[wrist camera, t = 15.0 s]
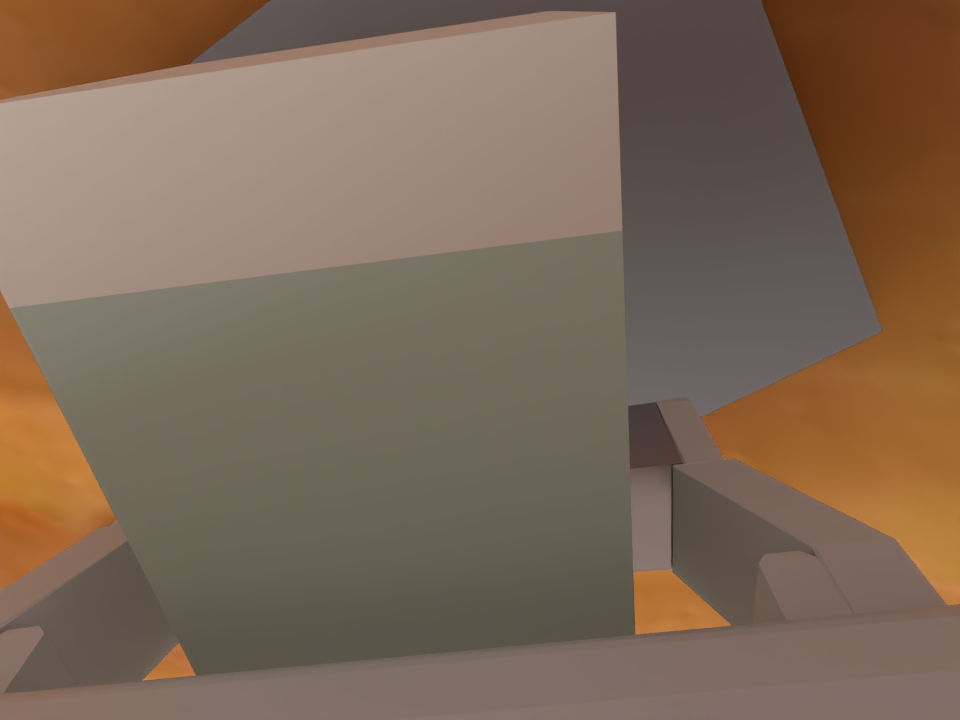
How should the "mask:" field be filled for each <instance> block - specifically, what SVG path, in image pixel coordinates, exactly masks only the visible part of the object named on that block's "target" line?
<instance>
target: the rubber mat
mask: <svg viewBox="0 0 960 720" xmlns="http://www.w3.org/2000/svg"><path fill="white" fill-rule="evenodd" d="M545 11H579V12H616V42H617V74H618V105H619V137H620V169H621V200H622V232H623V264H624V296H625V327H626V359H627V391H628V406H631V405H638V404H645V403H653V402H657V401H664V400H671V399H677V398H684V397H687V398H689V399H691V401H692V403H693V404H694V406H695V408H696V410H697V412H698V413H699V415H700V417H703V416H705V415H707V414H709V413H712V412H714V411H716V410H718V409H720V408H722V407H724V406H726V405H728V404H731V403H733V402H735V401H737V400H739V399H741V398H743V397H745V396H747V395H750V394H752V393H754V392H756V391H758V390H760V389H762V388H764V387H766V386H769V385H771V384H773V383H775V382H777V381H779V380H781V379H783V378H785V377H788V376H790V375H792V374H794V373H796V372H798V371H800V370H802V369H804V368H807V367H809V366H811V365H813V364H815V363H817V362H819V361H821V360H823V359H826V358H828V357H830V356H832V355H834V354H836V353H838V352H840V351H842V350H845V349H847V348H849V347H851V346H853V345H855V344H857V343H859V342H861V341H864V340H866V339H868V338H870V337H872V336H874V335H876V334H878V333H880V332H883V331H882V328H881V325H880V323H879V320H878V317H877V315H876V312H875V309H874V306H873V304H872V301H871V298H870V295H869V293H868V290H867V287H866V285H865V282H864V279H863V276H862V274H861V271H860V268H859V265H858V263H857V260H856V257H855V255H854V252H853V249H852V246H851V244H850V241H849V238H848V235H847V233H846V230H845V227H844V225H843V222H842V219H841V216H840V214H839V211H838V208H837V205H836V203H835V200H834V197H833V195H832V192H831V189H830V186H829V184H828V181H827V178H826V175H825V173H824V170H823V167H822V164H821V162H820V159H819V156H818V154H817V151H816V148H815V145H814V143H813V140H812V137H811V134H810V132H809V129H808V126H807V124H806V121H805V118H804V115H803V113H802V110H801V107H800V104H799V102H798V99H797V96H796V94H795V91H794V88H793V85H792V83H791V80H790V77H789V74H788V72H787V69H786V66H785V64H784V61H783V58H782V55H781V53H780V50H779V47H778V44H777V42H776V39H775V36H774V34H773V31H772V28H771V25H770V23H769V20H768V17H767V14H766V12H765V9H764V6H763V4H762V1H761V0H270V1H269V2H268V3H266V4H265V5H264V6H262V7H261V8H260V9H259V10H257V11H256V12H255V13H253V14H252V15H251V16H250V17H248V18H247V19H246V20H244V21H243V22H242V23H241V24H239V25H238V26H237V27H236V28H234V29H233V30H232V31H230V32H229V33H228V34H227V35H225V36H224V37H223V38H221V39H220V40H219V41H218V42H216V43H215V44H214V45H212V46H211V47H210V48H209V49H207V50H206V51H205V52H204V53H202V54H201V55H200V56H198V57H197V58H196V59H195V60H193V61H192V62H191V63H189V64H196V63H203V62H209V61H216V60H223V59H230V58H236V57H243V56H250V55H256V54H263V53H270V52H277V51H283V50H290V49H297V48H303V47H310V46H317V45H323V44H330V43H337V42H344V41H350V40H357V39H364V38H370V37H377V36H384V35H391V34H397V33H404V32H411V31H417V30H424V29H431V28H438V27H444V26H451V25H458V24H464V23H471V22H478V21H485V20H491V19H498V18H505V17H511V16H518V15H525V14H532V13H538V12H545ZM189 64H188V65H189Z"/></svg>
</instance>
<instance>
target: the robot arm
mask: <svg viewBox="0 0 960 720" xmlns="http://www.w3.org/2000/svg"><path fill="white" fill-rule="evenodd" d="M628 422H629V454H630V486H631V518H632V549H633V572H640V571H654V570H667V569H672V572H673V573H674V574H675V575H677V576H678V577H679V578H680V579H681V580H682V581H683V582H684V583H685V584H687V585H688V586H689V587H690V588H691V589H692V590H693V591H694V592H695V593H697V594H698V595H699V596H700V597H701V598H702V599H703V600H704V601H705V602H707V603H708V604H709V605H710V606H711V607H712V608H713V609H714V610H715V611H717V612H718V613H719V614H720V615H721V616H722V617H723V618H724V619H726V620H727V621H728V622H729V623H730V624H731V625H732V626H725V627H714V628H703V629H692V630H681V631H670V632H660V633H649V634H638V635H627V636H616V637H606V638H595V639H584V640H573V641H562V642H551V643H541V644H530V645H519V646H508V647H497V648H486V649H476V650H465V651H454V652H443V653H433V654H422V655H412V656H401V657H391V658H380V659H370V660H359V661H349V662H338V663H328V664H317V665H307V666H296V667H285V668H275V669H264V670H253V671H242V672H232V673H221V674H210V675H199V676H188V677H178V678H167V679H156V680H145V681H142V680H143V679H144V678H145V677H146V676H147V675H148V674H149V673H150V672H151V671H152V670H153V669H154V668H155V667H156V666H157V665H158V664H159V663H160V662H161V660H162V659H163V658H164V657H165V656H166V655H167V654H168V653H169V652H170V651H171V650H172V649H173V648H174V647H175V646H176V645H177V644H178V643H179V640H178V638H177V636H176V635H175V633H174V631H173V629H172V627H171V625H170V623H169V621H168V619H167V617H166V615H165V613H164V611H163V609H162V607H161V605H160V603H159V601H158V599H157V597H156V595H155V593H154V591H153V589H152V587H151V585H150V584H149V582H148V580H147V578H146V576H145V574H144V572H143V570H142V568H141V566H140V564H139V562H138V560H137V558H136V556H135V554H134V552H133V550H132V548H131V546H130V544H129V542H128V540H127V538H126V536H125V534H124V532H123V531H122V529H121V527H120V525H119V523H118V521H117V519H116V520H115V521H114V523H113V524H112V525H111V526H107V527H100V528H99V529H97V530H96V531H94V532H93V533H91V534H89V535H88V536H86V537H85V538H83V539H81V540H80V541H78V542H77V543H75V544H73V545H72V546H70V547H69V548H67V549H66V550H64V551H62V552H61V553H59V554H58V555H56V556H54V557H53V558H51V559H50V560H48V561H46V562H45V563H43V564H42V565H40V566H38V567H37V568H35V569H34V570H32V571H31V572H29V573H27V574H26V575H24V576H23V577H21V578H19V579H18V580H16V581H15V582H13V583H11V584H10V585H8V586H7V587H5V588H4V589H2V590H0V720H960V604H958V605H947V604H946V603H945V602H944V600H943V599H942V598H941V597H940V595H939V594H938V593H937V592H936V590H935V589H934V588H933V587H932V585H931V584H930V583H929V581H928V580H927V579H926V578H925V576H924V575H923V574H922V573H921V571H920V570H919V569H918V567H917V566H916V565H915V564H914V562H913V561H912V560H911V559H910V557H909V556H908V555H907V554H906V552H905V551H904V550H903V548H902V547H901V546H900V545H899V543H898V542H897V541H896V540H895V539H894V538H892V537H890V536H888V535H886V534H884V533H882V532H880V531H878V530H876V529H874V528H872V527H870V526H868V525H866V524H864V523H862V522H860V521H858V520H856V519H854V518H852V517H850V516H848V515H846V514H844V513H842V512H840V511H838V510H836V509H834V508H832V507H830V506H828V505H826V504H824V503H822V502H820V501H818V500H816V499H814V498H812V497H810V496H808V495H806V494H804V493H802V492H800V491H798V490H796V489H794V488H792V487H790V486H788V485H786V484H784V483H782V482H780V481H778V480H776V479H774V478H772V477H770V476H768V475H766V474H764V473H762V472H760V471H758V470H756V469H754V468H752V467H750V466H748V465H746V464H744V463H742V462H740V461H738V460H736V459H726V460H724V458H723V456H722V454H721V453H720V451H719V449H718V447H717V445H716V444H715V442H714V440H713V438H712V437H711V435H710V433H709V431H708V429H707V428H706V426H705V424H704V422H703V420H702V419H701V417H700V415H699V413H698V412H697V410H696V408H695V406H694V404H693V403H692V401H691V399H689V398H687V397H684V398H677V399H671V400H664V401H657V402H653V403H645V404H638V405H631V406H628Z"/></svg>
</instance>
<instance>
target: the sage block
mask: <svg viewBox="0 0 960 720" xmlns="http://www.w3.org/2000/svg"><path fill="white" fill-rule="evenodd" d="M0 291H1V293H2V295H3V297H4V299H5V301H6V303H7V305H8V307H9V309H10V311H11V313H12V315H13V317H14V319H15V321H16V323H17V324H18V326H19V328H20V330H21V332H22V334H23V336H24V338H25V340H26V342H27V344H28V346H29V348H30V350H31V352H32V354H33V356H34V358H35V360H36V362H37V364H38V366H39V368H40V370H41V372H42V374H43V376H44V377H45V379H46V381H47V383H48V385H49V387H50V389H51V391H52V393H53V395H54V397H55V399H56V401H57V403H58V405H59V407H60V409H61V411H62V413H63V415H64V417H65V419H66V421H67V423H68V425H69V427H70V428H71V430H72V432H73V434H74V436H75V438H76V440H77V442H78V444H79V446H80V448H81V450H82V452H83V454H84V456H85V458H86V460H87V462H88V464H89V466H90V468H91V470H92V472H93V474H94V476H95V478H96V480H97V481H98V483H99V485H100V487H101V489H102V491H103V493H104V495H105V497H106V499H107V501H108V503H109V505H110V507H111V509H112V511H113V513H114V515H115V517H116V519H117V521H118V523H119V525H120V527H121V529H122V531H123V532H124V534H125V536H126V538H127V540H128V542H129V544H130V546H131V548H132V550H133V552H134V554H135V556H136V558H137V560H138V562H139V564H140V566H141V568H142V570H143V572H144V574H145V576H146V578H147V580H148V582H149V584H150V585H151V587H152V589H153V591H154V593H155V595H156V597H157V599H158V601H159V603H160V605H161V607H162V609H163V611H164V613H165V615H166V617H167V619H168V621H169V623H170V625H171V627H172V629H173V631H174V633H175V635H176V636H177V638H178V640H179V642H180V644H181V646H182V648H183V650H184V652H185V654H186V656H187V658H188V660H189V662H190V664H191V666H192V668H193V670H194V672H195V674H196V676H199V675H210V674H221V673H232V672H242V671H253V670H264V669H275V668H285V667H296V666H307V665H317V664H328V663H338V662H349V661H359V660H370V659H380V658H391V657H401V656H412V655H422V654H433V653H443V652H454V651H465V650H476V649H486V648H497V647H508V646H519V645H530V644H541V643H551V642H562V641H573V640H584V639H595V638H606V637H616V636H627V635H635V613H634V581H633V549H632V518H631V486H630V454H629V422H628V391H627V359H626V327H625V296H624V264H623V232H622V200H621V169H620V137H619V105H618V74H617V42H616V12H579V11H545V12H538V13H532V14H525V15H518V16H511V17H505V18H498V19H491V20H485V21H478V22H471V23H464V24H458V25H451V26H444V27H438V28H431V29H424V30H417V31H411V32H404V33H397V34H391V35H384V36H377V37H370V38H364V39H357V40H350V41H344V42H337V43H330V44H323V45H317V46H310V47H303V48H297V49H290V50H283V51H277V52H270V53H263V54H256V55H250V56H243V57H236V58H230V59H223V60H216V61H209V62H203V63H196V64H189V65H184V66H178V67H173V68H168V69H162V70H157V71H152V72H146V73H141V74H135V75H130V76H125V77H119V78H114V79H109V80H103V81H98V82H93V83H87V84H82V85H77V86H71V87H66V88H60V89H55V90H50V91H44V92H39V93H34V94H28V95H23V96H18V97H12V98H7V99H2V100H0Z"/></svg>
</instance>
